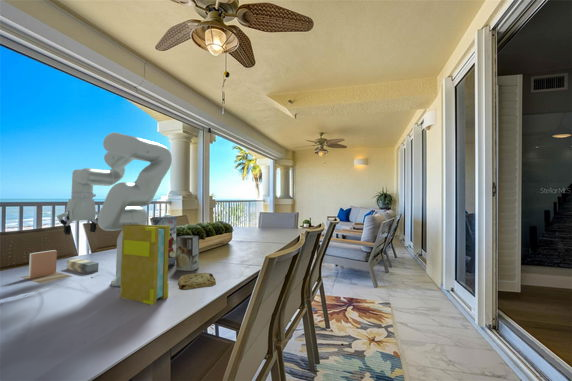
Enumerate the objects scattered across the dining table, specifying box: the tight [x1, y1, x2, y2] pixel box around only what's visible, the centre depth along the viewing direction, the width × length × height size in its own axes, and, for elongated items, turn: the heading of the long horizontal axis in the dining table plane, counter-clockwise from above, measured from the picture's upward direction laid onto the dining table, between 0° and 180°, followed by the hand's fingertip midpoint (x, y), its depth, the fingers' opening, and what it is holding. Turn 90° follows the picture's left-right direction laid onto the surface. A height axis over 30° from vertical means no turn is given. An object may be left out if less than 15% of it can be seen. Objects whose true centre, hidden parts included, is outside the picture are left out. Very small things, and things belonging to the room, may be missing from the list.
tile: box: [28, 249, 58, 278], centre depth 102 cm, size 2×8×10 cm, turn 155°
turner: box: [66, 258, 99, 275], centre depth 110 cm, size 18×4×5 cm, turn 65°
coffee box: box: [175, 235, 200, 272], centre depth 118 cm, size 9×6×16 cm
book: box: [119, 224, 170, 306], centre depth 84 cm, size 17×7×25 cm, turn 71°
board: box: [21, 271, 73, 284], centre depth 100 cm, size 18×10×2 cm, turn 65°
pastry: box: [177, 272, 217, 290], centre depth 99 cm, size 17×17×3 cm
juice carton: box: [151, 213, 178, 268], centre depth 123 cm, size 9×10×27 cm
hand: (80, 233), depth 110 cm, fingers open, 9 cm apart
